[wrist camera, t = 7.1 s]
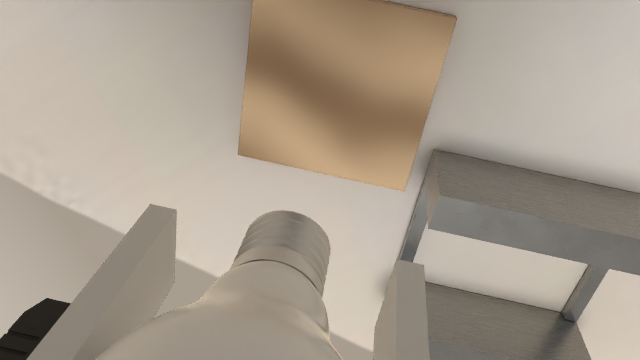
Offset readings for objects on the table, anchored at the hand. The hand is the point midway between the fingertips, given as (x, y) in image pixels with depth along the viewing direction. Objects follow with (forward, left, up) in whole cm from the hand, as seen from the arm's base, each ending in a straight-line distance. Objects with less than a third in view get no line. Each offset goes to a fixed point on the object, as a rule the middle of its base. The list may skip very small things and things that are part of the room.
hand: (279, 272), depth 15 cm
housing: (+8, +12, -15) cm, 21 cm away
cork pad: (0, 0, -15) cm, 15 cm away
